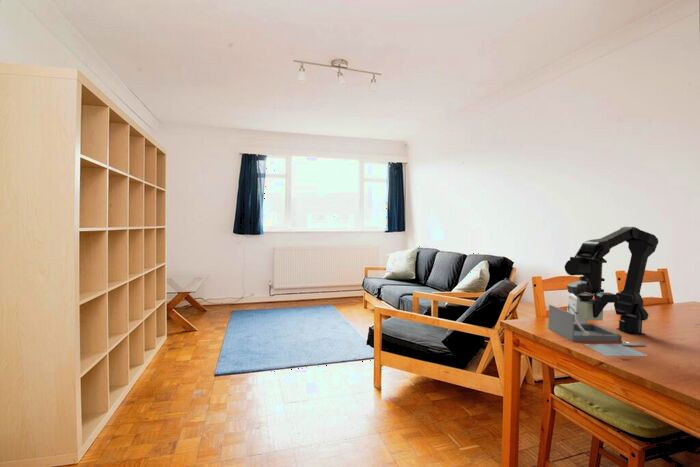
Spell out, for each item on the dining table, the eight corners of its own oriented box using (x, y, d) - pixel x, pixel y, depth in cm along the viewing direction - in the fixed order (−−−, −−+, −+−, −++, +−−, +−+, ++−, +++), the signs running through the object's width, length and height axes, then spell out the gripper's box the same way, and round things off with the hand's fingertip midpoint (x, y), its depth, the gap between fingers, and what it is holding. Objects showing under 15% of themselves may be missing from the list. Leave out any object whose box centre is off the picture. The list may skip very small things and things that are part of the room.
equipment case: (592, 329, 136) (593, 305, 136) (621, 342, 122) (622, 315, 121) (548, 329, 136) (549, 304, 135) (572, 342, 121) (573, 314, 121)
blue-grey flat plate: (622, 345, 119) (622, 344, 119) (648, 357, 109) (648, 355, 109) (583, 345, 119) (583, 344, 119) (605, 356, 109) (605, 355, 109)
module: (593, 317, 130) (594, 300, 129) (602, 320, 125) (603, 303, 125) (578, 317, 130) (579, 300, 129) (586, 320, 125) (587, 303, 125)
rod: (643, 346, 119) (643, 342, 119) (646, 347, 118) (646, 344, 117) (620, 344, 119) (621, 341, 118) (623, 345, 117) (624, 342, 117)
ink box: (566, 319, 150) (567, 293, 149) (578, 320, 149) (580, 294, 148) (575, 325, 141) (576, 297, 141) (588, 326, 140) (589, 298, 140)
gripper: (555, 270, 136) (554, 309, 137) (589, 278, 117) (587, 323, 118) (582, 271, 136) (581, 309, 137) (620, 279, 118) (618, 323, 118)
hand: (590, 315), depth 127 cm, fingers closed on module, 4 cm apart
